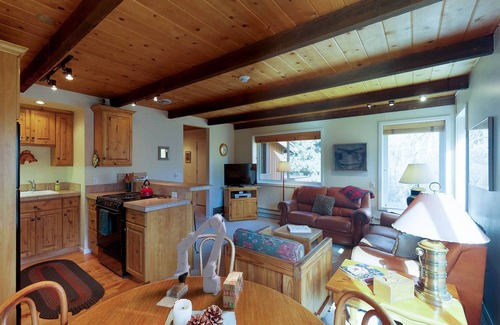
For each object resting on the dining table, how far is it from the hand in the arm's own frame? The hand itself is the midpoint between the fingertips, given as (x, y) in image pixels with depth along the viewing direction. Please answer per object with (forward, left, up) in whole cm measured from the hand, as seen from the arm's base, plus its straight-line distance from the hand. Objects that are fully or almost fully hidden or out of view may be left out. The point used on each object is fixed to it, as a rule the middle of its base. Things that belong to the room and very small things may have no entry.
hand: (182, 285), depth 133 cm
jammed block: (0, +4, -1) cm, 4 cm away
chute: (0, +9, -2) cm, 9 cm away
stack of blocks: (-31, -1, -3) cm, 32 cm away
